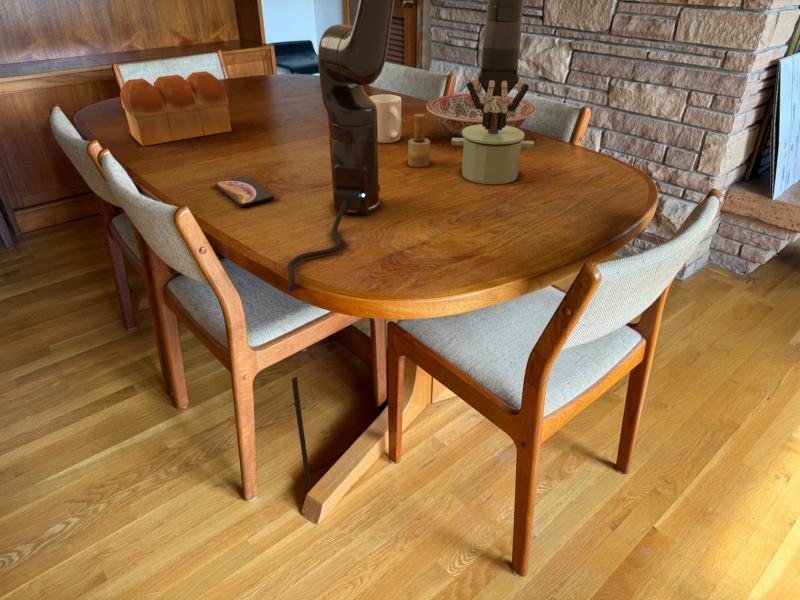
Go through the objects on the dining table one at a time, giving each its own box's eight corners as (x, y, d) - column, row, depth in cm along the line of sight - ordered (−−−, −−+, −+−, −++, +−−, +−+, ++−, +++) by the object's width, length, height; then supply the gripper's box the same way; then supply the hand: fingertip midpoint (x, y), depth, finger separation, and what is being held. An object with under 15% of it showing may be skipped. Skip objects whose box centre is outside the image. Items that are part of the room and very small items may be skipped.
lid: (525, 148, 120) (529, 121, 117) (460, 145, 122) (462, 118, 119) (522, 130, 132) (525, 104, 129) (462, 127, 133) (464, 102, 130)
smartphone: (241, 204, 114) (213, 182, 124) (241, 208, 114) (214, 186, 124) (275, 195, 117) (245, 174, 128) (275, 199, 118) (246, 178, 128)
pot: (531, 186, 125) (536, 148, 121) (448, 182, 127) (450, 144, 123) (527, 166, 136) (532, 131, 131) (451, 163, 138) (453, 127, 133)
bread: (141, 146, 148) (126, 87, 140) (129, 134, 156) (115, 78, 148) (233, 130, 160) (224, 75, 152) (217, 120, 169) (209, 67, 161)
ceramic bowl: (410, 126, 164) (410, 98, 160) (499, 117, 173) (501, 90, 168) (453, 157, 141) (454, 125, 137) (553, 145, 150) (558, 114, 145)
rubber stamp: (428, 167, 135) (430, 118, 129) (406, 166, 136) (407, 117, 129) (430, 160, 139) (431, 112, 133) (409, 159, 140) (409, 111, 134)
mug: (385, 149, 147) (384, 106, 141) (363, 137, 155) (362, 96, 149) (413, 144, 150) (414, 102, 144) (391, 132, 159) (390, 92, 153)
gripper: (466, 46, 114) (461, 132, 123) (537, 48, 113) (526, 135, 122) (468, 40, 120) (462, 123, 130) (534, 42, 119) (524, 125, 128)
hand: (493, 128), depth 126 cm, fingers closed on lid, 2 cm apart
